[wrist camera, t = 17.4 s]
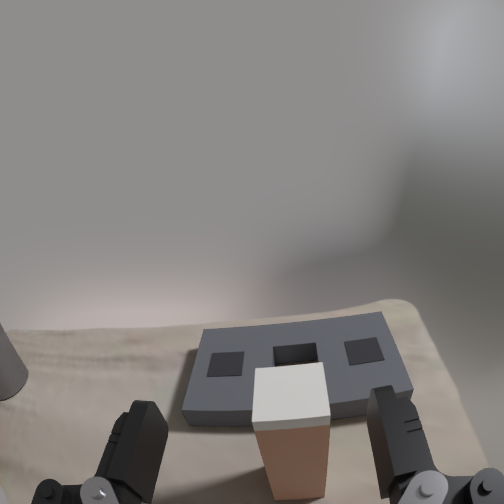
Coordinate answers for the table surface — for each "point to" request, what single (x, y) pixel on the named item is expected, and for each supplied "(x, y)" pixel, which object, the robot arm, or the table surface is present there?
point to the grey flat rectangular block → (293, 350)
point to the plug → (293, 428)
